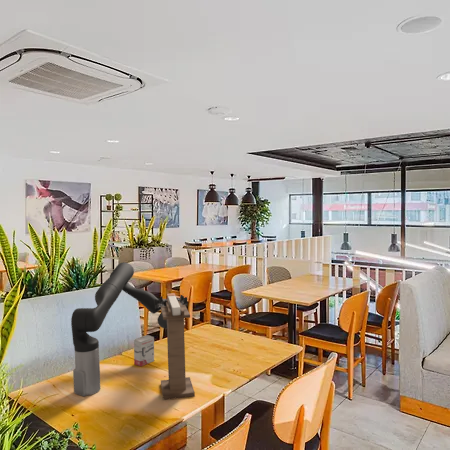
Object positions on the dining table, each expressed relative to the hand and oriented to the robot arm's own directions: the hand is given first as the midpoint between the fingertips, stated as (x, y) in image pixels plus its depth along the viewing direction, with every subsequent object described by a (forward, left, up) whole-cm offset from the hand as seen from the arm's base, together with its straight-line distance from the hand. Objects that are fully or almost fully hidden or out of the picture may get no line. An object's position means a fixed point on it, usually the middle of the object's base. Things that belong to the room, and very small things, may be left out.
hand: (171, 297), depth 166 cm
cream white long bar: (-5, -5, -2) cm, 7 cm away
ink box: (+6, +23, -35) cm, 42 cm away
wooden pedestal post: (-8, -8, -34) cm, 36 cm away
